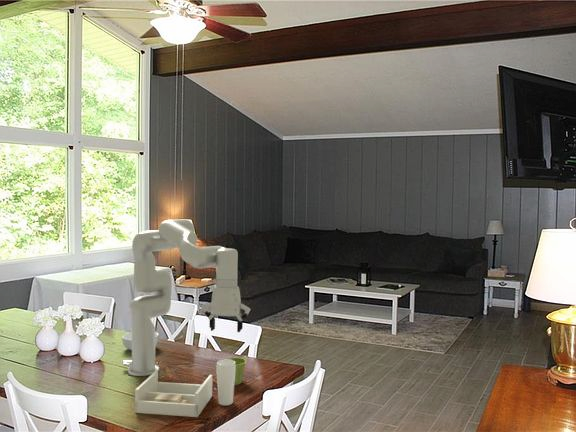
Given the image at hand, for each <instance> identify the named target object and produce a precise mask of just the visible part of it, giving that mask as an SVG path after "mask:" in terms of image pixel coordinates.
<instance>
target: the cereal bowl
mask: <svg viewBox="0 0 576 432" xmlns="http://www.w3.org/2000/svg"><path fill="white" fill-rule="evenodd" d="M159 340H160V333H158V331H155V346H156V345H158V342H159ZM121 341H122V345H123V346H124V347H125V348H126V349H127V350H130V351H132V331H130V332H127V333H124V334H123V335H122V337H121Z"/></svg>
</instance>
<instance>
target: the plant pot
mask: <svg viewBox="0 0 576 432" xmlns="http://www.w3.org/2000/svg"><path fill="white" fill-rule="evenodd" d="M226 359H228V360H233V361H235V365H236V373H235V384H234V386H237V385H241V383H243V381H244V380H243V379H244V370H245V366H246V363H247V360H246V358H242V357H228V358H226Z"/></svg>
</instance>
